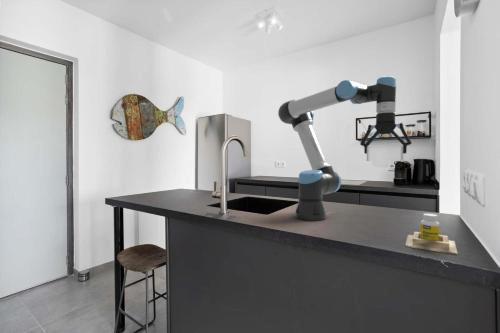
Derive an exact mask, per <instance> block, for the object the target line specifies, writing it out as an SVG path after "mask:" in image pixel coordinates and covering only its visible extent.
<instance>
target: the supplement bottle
mask: <svg viewBox="0 0 500 333" xmlns="http://www.w3.org/2000/svg"><path fill="white" fill-rule="evenodd" d="M419 229H420V230H419V231H420V239H427V240H435V241H439V235H440V222H439V221H438V215H437V214H434V213H423V218H422V220H421V221H420V228H419Z"/></svg>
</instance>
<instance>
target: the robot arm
mask: <svg viewBox="0 0 500 333" xmlns="http://www.w3.org/2000/svg"><path fill="white" fill-rule="evenodd" d="M396 81H397V80H396V78H395V77H394V76H392V75H390V76H388V75H387V76H382V77H378V78H377V80H376V83H375V84H369V85H363V84H362V83H361V84H360V83H358V82H355V81H353V80H348V79H344V80H342V81H340V82H339V83H338V84H337V86H334V87H331V88H328V89H326V90H322V91H320V92H317V93H315V94H311V95H308V96H306V97H303V98H300V99H297V100H295V99H291V100H288V101H286V102H283V103H281V105H280V107H279V108H278V111H277V112H278V113H277V115H278V118H279V119H280V120H279V121H281V122H282V123H284V124H287V125H288V124H289V125H292V128H293V131H295V132H297V134H298V136H299V139H300V141H301V144H302V147H303V149H304V152H305V154H306V157H307V160H308V162H309V164H310V167H311V169H310V170H304V171H300V173H299V174H298V203H297V206H296V209H295V211H294V212H295V213H294V215H295V216H294V217H295V218H296V219H298V220H299V219H300V220H303V221H324V220H326V219H327V213H326V212H327V211H326V209H325V206H324V203H323V195H329V194H333V193H336V192H337V191H338V190H339V189H340V187H341V185H342V178H341V176H340V174H339V173H338V172H336V171H334V168H333V166H332V165H331V164H328V161H327V159H326V158H325V154H324V152H323V150H322V147H321V145H320V143H319V140H318V138H317V135H316V133H315V129H314V128H313V124H314V118H315V116H314V111H317V110H319V109H323V108H327V107H331V106H333V105H336V104H340V103H343V102H347V101H350V102H351V103H352V104H353V105H361V104H365V103H366V104H367V103H372V102H376V105H375V107H376V110H375V112H376V116H375V125H374V124H373V125H371V124H368V126H367V130H366V132H365V134H364V135H363V138H362V140H361V141H360V143H359V145H360V146H362V147H364V154H365V155H366V162H369V161H370V160H371V159H370V157H371V147H370V145H371V143H372V142H374V140H376V138H377V137H378V136H379V135H390V134H391V135H392V136H394V137H395V138H396V139H397V141H398V142H399V143H401V146H400V162H404V154H405V155H406V154H407V151H408V150H407V149H408V148H407V147H408V146H411V145H412V143H413V142H412V141H411V138H410V137H409V135H408V134H407V132H406V130H405V127H404V123H403V122H400V123H396V113H395V112H396V102H397V101H396V98H397V97H396V94H397V82H396ZM396 128H397V129H399V130H400V132H401V134H402V135H403V138H404V139H405V141H404V140H403V139H402V137H401V136H399V135H398V133H397V132H396V131H395V129H396ZM374 129H375V130H376V131H375V132H374V133H373V134H372V136H371V137H370V138H369V136H370V134H371V132H372V131H373V130H374ZM368 138H369V139H368Z"/></svg>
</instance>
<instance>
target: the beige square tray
mask: <svg viewBox="0 0 500 333" xmlns="http://www.w3.org/2000/svg"><path fill="white" fill-rule="evenodd" d="M405 241H406V242H405V245H404V246H405V247H407V248H413V249H420V250H425V251H431V252H432V251H433V252H438V253H444V254H449V255H451V254H452V255H456V256H457V255H458V250H457V245H456V242H455V240H449V237H448V235H442V234H439V241H435V240H427V239H420V232H419V231H414V232H413V234H408V235H407V237H406V240H405Z"/></svg>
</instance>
